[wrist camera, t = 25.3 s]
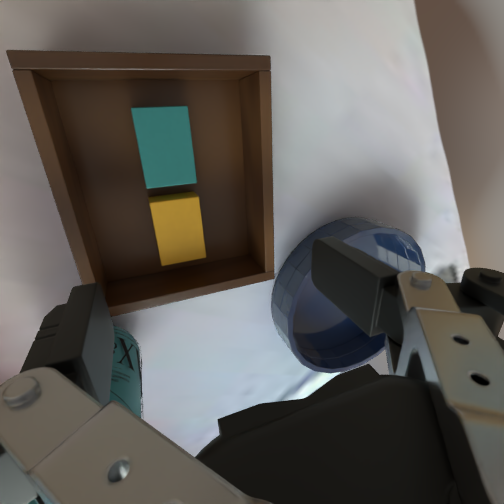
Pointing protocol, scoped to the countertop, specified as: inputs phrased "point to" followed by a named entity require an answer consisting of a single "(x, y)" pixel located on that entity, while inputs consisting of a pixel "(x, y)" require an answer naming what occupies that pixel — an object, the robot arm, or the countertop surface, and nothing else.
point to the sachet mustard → (178, 227)
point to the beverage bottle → (125, 373)
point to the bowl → (322, 309)
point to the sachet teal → (165, 145)
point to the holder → (131, 173)
